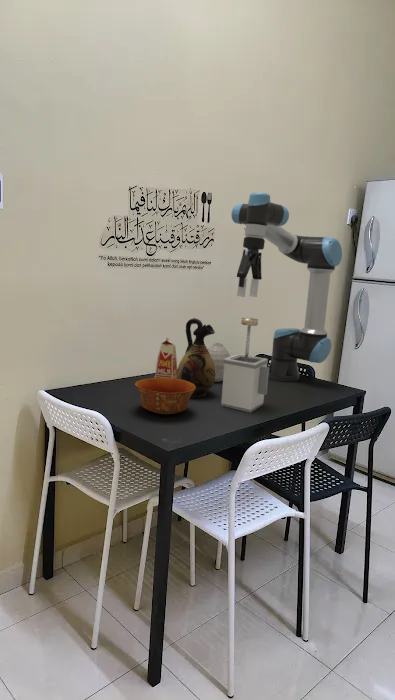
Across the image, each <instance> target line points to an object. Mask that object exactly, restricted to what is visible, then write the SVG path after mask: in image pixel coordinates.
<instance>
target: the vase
mask: <svg viewBox="0 0 395 700" xmlns="http://www.w3.org/2000/svg"><path fill="white" fill-rule="evenodd" d="M207 349H208V351H209V353H210V355H211V358H212V360H213V362H214V366H215V374H216V376H215V381H214V383H217V382H218V383H219V382H223V376H224V360H225V359H226V358H229V357H231V354H230V352H229V350H228V349H227V348H226V347H225V346H224V345H223V343H222V342H219V341H218V342H217V341H214V342H213V343H212V345H210V346H209V347H208V348H207Z"/></svg>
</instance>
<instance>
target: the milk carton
mask: <svg viewBox="0 0 395 700" xmlns="http://www.w3.org/2000/svg"><path fill="white" fill-rule="evenodd" d="M176 348H177V347H176V345H175V344H174V343H173V342H172V341H171V339H170V338H169V337H166V340H165V341H163V342H161V343H160V348H159V352H158V355H157V359H156V369H155V372H154V373H155V374H154V377H153V378H173V379H177V369H178V360H177V349H176Z"/></svg>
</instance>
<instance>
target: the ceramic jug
mask: <svg viewBox="0 0 395 700" xmlns="http://www.w3.org/2000/svg"><path fill="white" fill-rule="evenodd" d="M192 325H197V328H195V329H194V330H193V336H195V339H194V341H193V337H192V330H191V327H192ZM214 334H216V332H215V330H214V328H213V327H212V325H211V324H207V325H206V324H203V322H202V321H201V320H200V319H198V318H196V317H193V318H191V319H189V320H187V322H186V324H185V335H186V339H187V347H186V349H185V353H184V355H183V356H182V358H181V360H180V362H179V364H178V365H177V379H181V380H185V381H188V382H190V383H193V384H194V385H195V386H196V389H195V391H194V392H193V393H192V395H191V397H190V398H204V397H206V396H207V393H208V391H209V390H210V389H211V388H212V387H213V385H214V383H215V382H214V381H215V376H216V374H215V366H214V362H213V360H212V358H211V355H210V353H209V351H208V348H207V346H206V344H205V341H204V340H205V338H206V337H207V336H211V335H214Z"/></svg>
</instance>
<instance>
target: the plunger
mask: <svg viewBox="0 0 395 700" xmlns="http://www.w3.org/2000/svg"><path fill="white" fill-rule="evenodd" d="M240 322H241V323H240V324H241V325H243V326H247V328H246V341H245V351H244V353H245V354H244V355H245V362H248V356H249V351H250V340H251V330H252V329H251V328H252V326H253V327H254V326H258V324H259V323H258V322H259V319H258V318H255V317H242V318H241V321H240Z"/></svg>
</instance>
